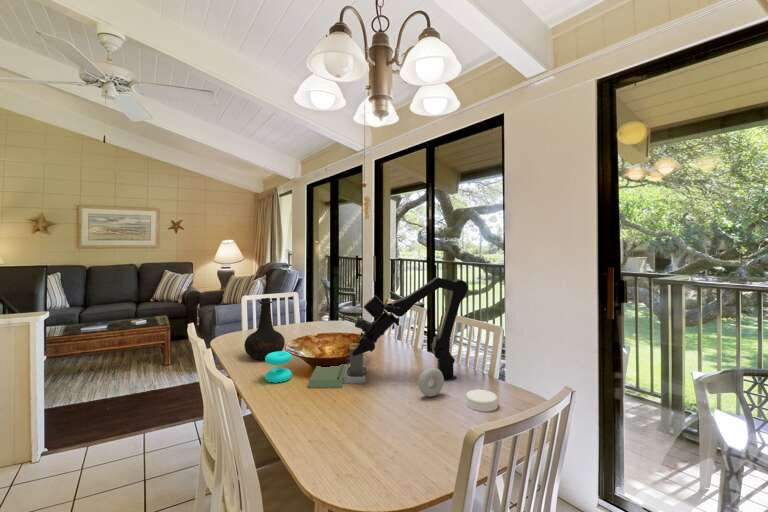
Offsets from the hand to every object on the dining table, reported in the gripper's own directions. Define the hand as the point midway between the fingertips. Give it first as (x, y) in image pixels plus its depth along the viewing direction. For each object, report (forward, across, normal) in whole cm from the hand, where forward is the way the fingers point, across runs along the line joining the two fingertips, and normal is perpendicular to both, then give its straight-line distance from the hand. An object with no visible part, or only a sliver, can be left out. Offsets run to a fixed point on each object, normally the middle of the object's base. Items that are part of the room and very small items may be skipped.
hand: (353, 353), depth 143 cm
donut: (-13, +18, +27) cm, 35 cm away
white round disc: (-24, +25, +38) cm, 52 cm away
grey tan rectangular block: (+6, 0, +8) cm, 10 cm away
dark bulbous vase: (+38, -28, -24) cm, 53 cm away
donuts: (+28, +1, -14) cm, 31 cm away
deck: (+11, 0, +3) cm, 11 cm away
